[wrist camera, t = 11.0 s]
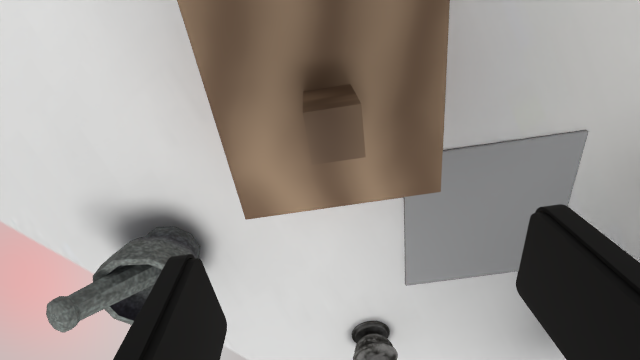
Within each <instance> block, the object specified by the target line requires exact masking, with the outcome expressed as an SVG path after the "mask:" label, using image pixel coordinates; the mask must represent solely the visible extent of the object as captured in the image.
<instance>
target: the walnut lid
mask: <svg viewBox="0 0 640 360" xmlns="http://www.w3.org/2000/svg"><path fill="white" fill-rule="evenodd" d="M177 1H178V5H179V8H180V11H181V14H182V17H183V21H184V24H185V27H186V30H187V33H188V36H189V40H190V43H191V46H192V49H193V52H194V56H195V59H196V62H197V65H198V68H199V72H200V75H201V78H202V81H203V84H204V88H205V91H206V94H207V97H208V100H209V104H210V107H211V110H212V113H213V116H214V120H215V123H216V126H217V129H218V132H219V136H220V139H221V142H222V145H223V148H224V151H225V155H226V158H227V161H228V164H229V167H230V171H231V174H232V177H233V180H234V183H235V187H236V190H237V193H238V196H239V199H240V203H241V206H242V209H243V212H244V215H245V219H253V218H260V217H267V216H274V215H281V214H288V213H295V212H302V211H310V210H317V209H324V208H331V207H338V206H345V205H352V204H359V203H366V202H373V201H380V200H387V199H394V198H401V197H409V196H416V195H423V194H430V193H437V192H441V176H442V155H443V133H444V111H445V90H446V68H447V46H448V25H449V3H450V0H177Z"/></svg>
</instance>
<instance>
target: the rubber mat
mask: <svg viewBox="0 0 640 360" xmlns="http://www.w3.org/2000/svg"><path fill="white" fill-rule="evenodd" d="M587 135H588V131H587V130H583V131H576V132H569V133H562V134H555V135H548V136H541V137H534V138H527V139H520V140H513V141H506V142H499V143H492V144H485V145H478V146H471V147H464V148H457V149H450V150H443V155H442V176H441V192H437V193H430V194H423V195H416V196H409V197H404V225H405V284H406V286H407V285H415V284H423V283H430V282H438V281H446V280H453V279H461V278H469V277H477V276H484V275H492V274H500V273H507V272H515V271H519V266H520V262H521V257H522V252H523V248H524V243H525V239H526V234H527V229H528V225H529V220H530V217H531V215H532V214H533V213H535V212H536V210H537V209H538V208H539V207H544V206H551V205H559V204H562V205H566V206H568V203H569V199H570V196H571V192H572V189H573V185H574V181H575V178H576V174H577V171H578V167H579V164H580V160H581V156H582V153H583V149H584V146H585V142H586V139H587Z"/></svg>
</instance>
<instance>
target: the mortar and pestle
mask: <svg viewBox="0 0 640 360" xmlns="http://www.w3.org/2000/svg"><path fill="white" fill-rule="evenodd" d="M199 250H200V246H199V245H198V244H197V242H196V241H195V239H194V238H193V236H192V235H191V234H189V233H187V232H185V231H183V230H180V229H178V228H176V227H159V228H156V229H154V230H153V231H152V232H150V233H149V234H148V235H146V236H145V237H141V238H138V239H135V240H132V241H130V242H129V243H128V244H126V245H125V246H124V247H122V248H121V249H120V250H119V251H117V252H116V253H115V254H113V255H112V256H111V257H110V258H109V259H108V260H107V261H105V262H104V263H103V264H102V265H101V266H100V268H99V269H98V270H97V271H96V273H95V274H94V275H93V283H91V284H90V285H88V286H86V287H84V288H82V289H80V290H78V291H76V292H74V293H73V294H71V295H69V296H65V297H64V296H59V297H57V298H55V299H53V300H52V301H51V302H49V303H48V304H47V313H46V315H47V318H48V320H49V323H50V324H51V325H52V326H53V328H54V329H56V330H58V331H60V332H66V331H69V330H71V329H72V328H74V327H75V326H76V325H77V323H78V322H79V321H80V320H82V319H84V318H86V317H88V316H91V315H93V314H94V313H97V312H99V311H101V310H103V309H105V310H106V311H107V312H108V313H109V314H110V315H111V316H112V317H113V318H114V319H117V320H120V321H122V322H125V323H128V324H131V325H132V324H133V322H134V320H135V318H136V316H137V315H138V314H139V312H140V311H141V309H142V307H143V305H144V303H145V301H146V299H147V297H148V296H149V294H150V292H151V290H152V288H153V286H154V284H155V283H156V281H157V279H158V277H159V275H160V273H161V271H162V269H163V268H164V266H165V264H166V262H167V260H168V259H169V258H170V257H171V256H178V255H186V254H192V255H194V257H195V258H198V256H199Z"/></svg>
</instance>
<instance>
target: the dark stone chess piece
mask: <svg viewBox="0 0 640 360" xmlns="http://www.w3.org/2000/svg"><path fill="white" fill-rule="evenodd" d="M388 336H389V329H388V327H387V326H386V325H385V324H383V323H381V322H377V321H370V322H365V323H362V324H360V325H358V326H357V327H356V328H355V329H354V330H353V332H352V338H353V340H354V341H355V342H356V343H357V345H356V348H355V354H354V356H353V360H397V357H398V354H397V351H396V349H395V348H394V347H393V346H392V344H391V342H390V341H389V340H388V339H387V338H388Z"/></svg>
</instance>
